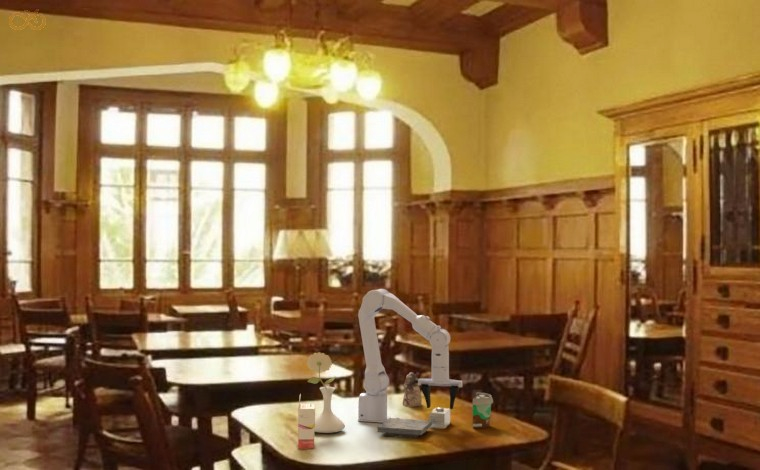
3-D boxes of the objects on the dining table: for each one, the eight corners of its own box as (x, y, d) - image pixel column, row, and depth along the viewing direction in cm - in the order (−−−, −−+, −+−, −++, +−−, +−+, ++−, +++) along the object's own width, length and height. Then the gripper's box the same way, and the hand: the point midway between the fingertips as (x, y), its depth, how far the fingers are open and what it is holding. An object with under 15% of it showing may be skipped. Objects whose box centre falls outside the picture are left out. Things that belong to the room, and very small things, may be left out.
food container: (491, 430, 271) (491, 399, 271) (472, 429, 272) (472, 398, 272) (494, 422, 283) (494, 392, 283) (475, 421, 284) (476, 391, 284)
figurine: (401, 403, 316) (401, 370, 316) (420, 402, 317) (420, 370, 317) (403, 406, 309) (404, 373, 309) (423, 406, 310) (423, 373, 310)
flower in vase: (350, 429, 272) (350, 351, 272) (337, 437, 261) (337, 355, 261) (313, 426, 276) (313, 349, 276) (298, 433, 265) (298, 353, 265)
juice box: (315, 449, 246) (315, 398, 246) (297, 449, 245) (298, 398, 245) (314, 442, 254) (315, 393, 254) (298, 442, 254) (298, 393, 254)
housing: (429, 428, 275) (429, 410, 275) (435, 422, 284) (435, 405, 284) (444, 429, 273) (444, 411, 273) (450, 423, 282) (450, 406, 282)
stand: (377, 436, 261) (377, 427, 262) (389, 427, 275) (389, 417, 275) (421, 440, 258) (421, 430, 258) (431, 430, 271) (431, 420, 271)
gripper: (415, 367, 277) (415, 409, 277) (459, 369, 273) (459, 411, 273) (420, 364, 284) (420, 405, 283) (463, 366, 280) (463, 407, 279)
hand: (440, 408), depth 279 cm, fingers open, 7 cm apart
